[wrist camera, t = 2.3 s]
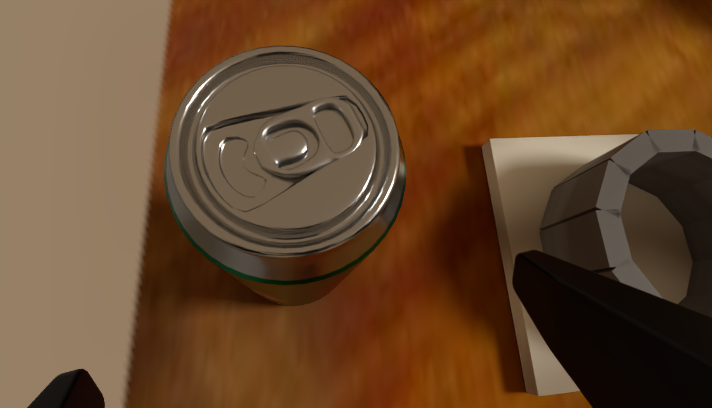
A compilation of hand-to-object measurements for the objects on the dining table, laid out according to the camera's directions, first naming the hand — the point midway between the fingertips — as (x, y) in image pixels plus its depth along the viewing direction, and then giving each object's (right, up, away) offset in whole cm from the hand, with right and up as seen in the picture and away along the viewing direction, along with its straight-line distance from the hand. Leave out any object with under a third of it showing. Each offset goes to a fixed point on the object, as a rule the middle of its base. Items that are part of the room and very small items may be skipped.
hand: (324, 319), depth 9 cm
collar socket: (+14, 0, +13) cm, 19 cm away
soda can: (-2, 0, +11) cm, 11 cm away
